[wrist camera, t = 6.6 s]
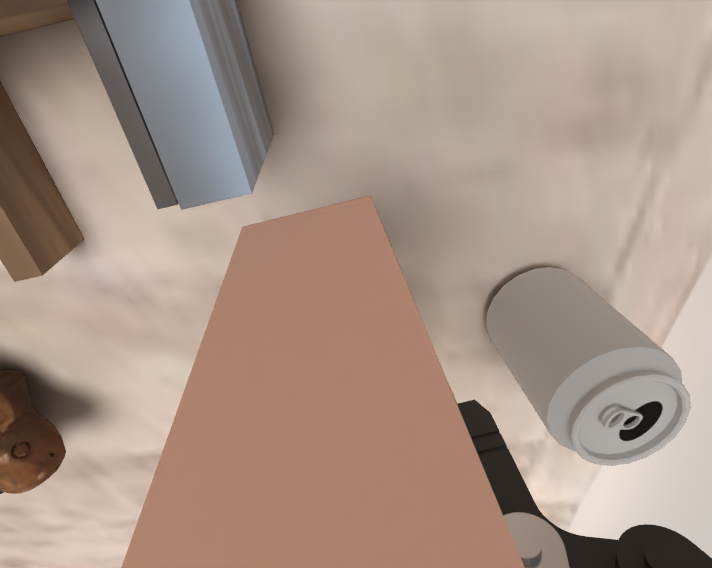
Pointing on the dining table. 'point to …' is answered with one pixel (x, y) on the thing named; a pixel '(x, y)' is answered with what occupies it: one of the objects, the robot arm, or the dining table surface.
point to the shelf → (140, 114)
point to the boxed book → (319, 420)
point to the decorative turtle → (25, 438)
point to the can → (587, 368)
